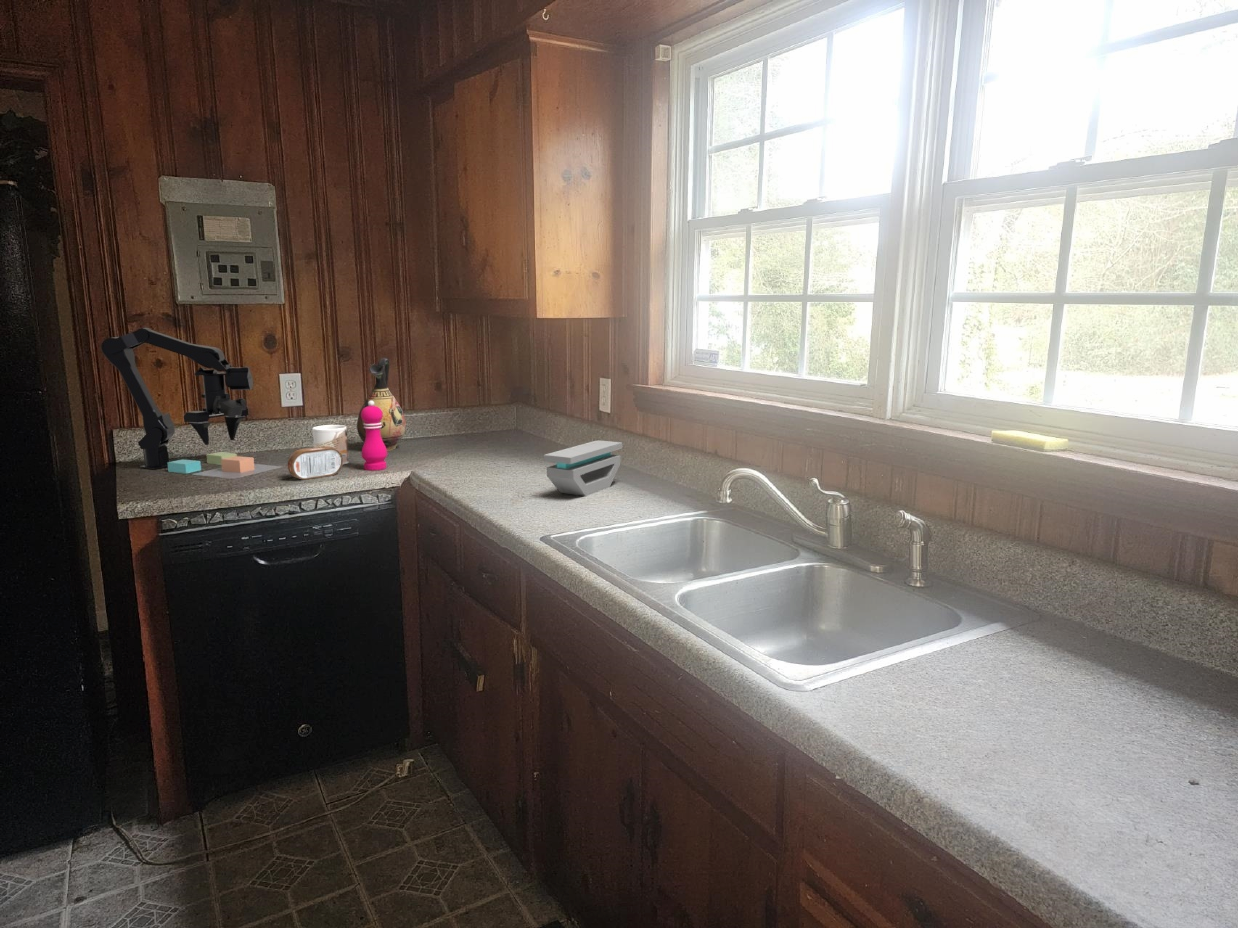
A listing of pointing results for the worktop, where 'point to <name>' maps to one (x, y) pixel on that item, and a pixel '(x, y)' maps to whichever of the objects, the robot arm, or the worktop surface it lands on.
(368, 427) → the pepper mill
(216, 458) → the olive brick
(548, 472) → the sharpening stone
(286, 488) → the worktop surface
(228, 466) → the terracotta brick
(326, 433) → the mug
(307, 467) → the tin
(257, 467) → the baseplate
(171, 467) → the teal brick
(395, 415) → the ceramic jug
